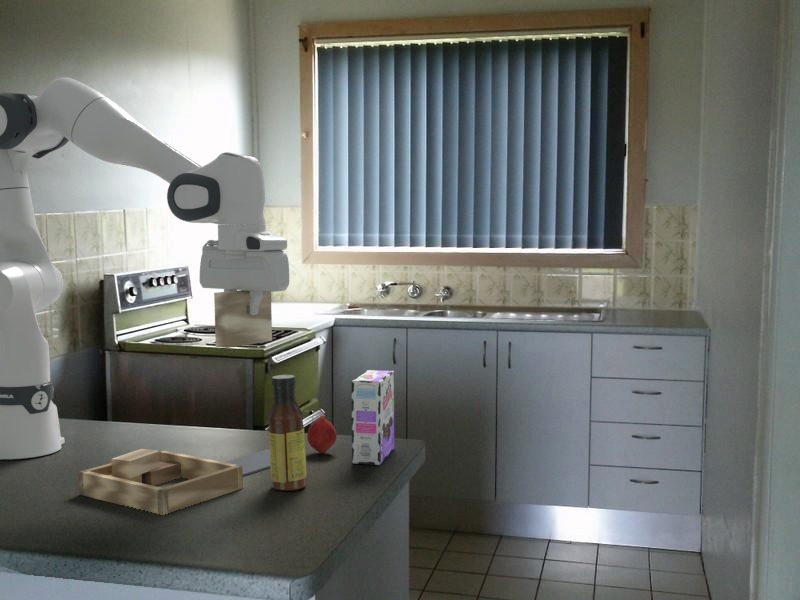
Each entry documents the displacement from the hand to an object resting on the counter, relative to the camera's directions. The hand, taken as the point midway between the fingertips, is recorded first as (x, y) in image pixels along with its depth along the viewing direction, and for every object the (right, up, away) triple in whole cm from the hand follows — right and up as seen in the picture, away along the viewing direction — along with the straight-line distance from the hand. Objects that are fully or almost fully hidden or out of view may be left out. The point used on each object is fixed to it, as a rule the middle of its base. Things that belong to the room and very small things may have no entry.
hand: (243, 313), depth 181 cm
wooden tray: (-12, -31, -13) cm, 36 cm away
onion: (+14, -29, +13) cm, 34 cm away
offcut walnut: (-14, -30, -6) cm, 34 cm away
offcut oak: (-20, -31, -14) cm, 39 cm away
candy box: (+24, -29, +10) cm, 39 cm away
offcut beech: (-17, -28, -10) cm, 34 cm away
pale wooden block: (0, -6, +1) cm, 6 cm away
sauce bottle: (+10, -31, -11) cm, 34 cm away
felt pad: (+1, -29, +5) cm, 30 cm away
